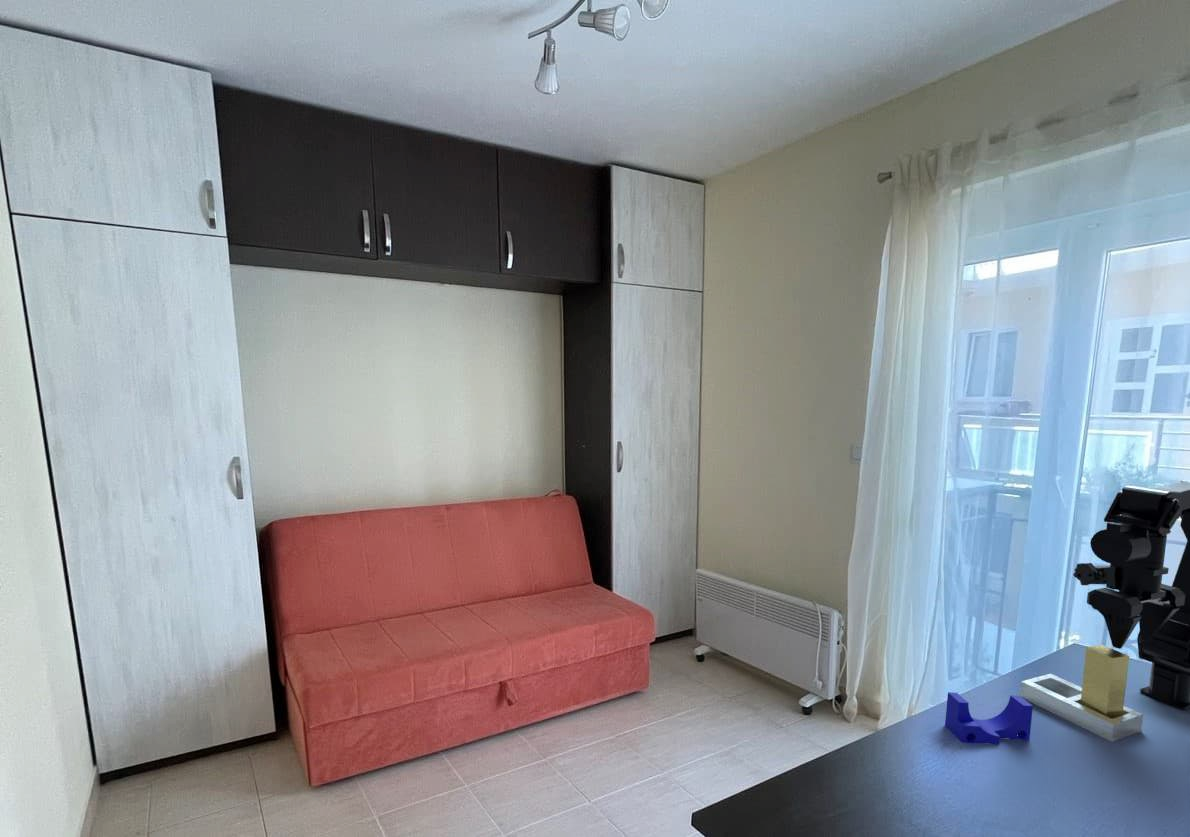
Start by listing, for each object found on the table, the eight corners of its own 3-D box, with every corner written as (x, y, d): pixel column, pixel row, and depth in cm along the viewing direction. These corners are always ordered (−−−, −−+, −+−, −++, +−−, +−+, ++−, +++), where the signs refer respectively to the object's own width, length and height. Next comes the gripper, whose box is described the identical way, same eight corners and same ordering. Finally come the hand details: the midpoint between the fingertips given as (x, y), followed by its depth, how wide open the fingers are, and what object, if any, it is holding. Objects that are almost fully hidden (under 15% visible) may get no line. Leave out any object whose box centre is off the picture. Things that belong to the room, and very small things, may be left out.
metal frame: (1048, 688, 109) (1050, 673, 109) (1141, 731, 96) (1143, 714, 96) (1019, 696, 106) (1021, 681, 105) (1111, 742, 93) (1113, 724, 93)
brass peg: (1094, 715, 100) (1102, 645, 100) (1121, 729, 97) (1129, 655, 96) (1078, 718, 99) (1086, 647, 98) (1104, 732, 95) (1112, 658, 95)
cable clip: (962, 743, 91) (965, 707, 90) (944, 726, 95) (948, 692, 95) (1036, 747, 91) (1040, 711, 90) (1015, 729, 95) (1019, 695, 95)
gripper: (1113, 541, 111) (1105, 619, 112) (1057, 548, 103) (1048, 631, 104) (1191, 559, 100) (1180, 644, 101) (1134, 568, 93) (1123, 660, 94)
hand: (1131, 644), depth 100 cm, fingers open, 9 cm apart
